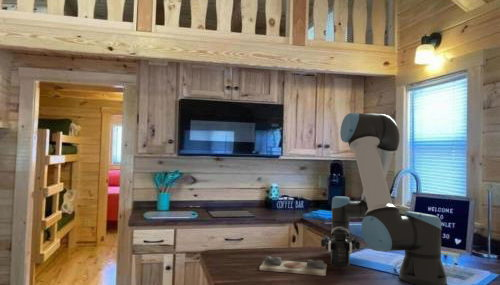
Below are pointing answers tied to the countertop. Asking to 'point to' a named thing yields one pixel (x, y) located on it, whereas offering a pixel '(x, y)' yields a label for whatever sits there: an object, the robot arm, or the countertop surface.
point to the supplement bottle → (340, 250)
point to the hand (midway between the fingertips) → (340, 248)
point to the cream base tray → (294, 266)
